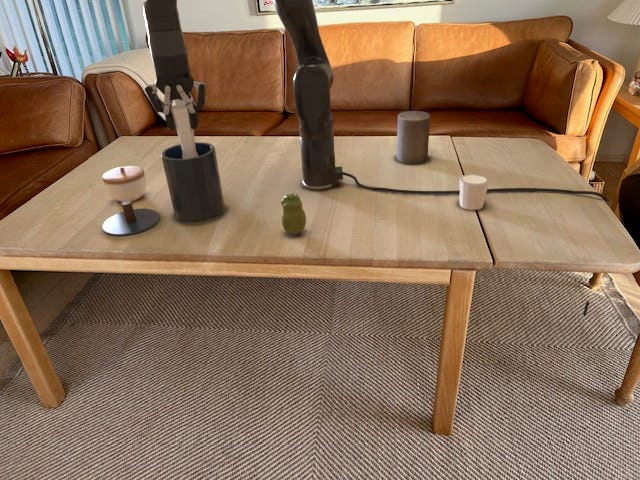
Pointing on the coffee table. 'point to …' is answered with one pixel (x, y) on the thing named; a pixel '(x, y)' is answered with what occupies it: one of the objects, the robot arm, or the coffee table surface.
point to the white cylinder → (473, 191)
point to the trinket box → (125, 183)
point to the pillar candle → (413, 137)
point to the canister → (194, 183)
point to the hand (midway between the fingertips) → (184, 128)
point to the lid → (130, 221)
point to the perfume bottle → (184, 129)
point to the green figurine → (293, 214)
